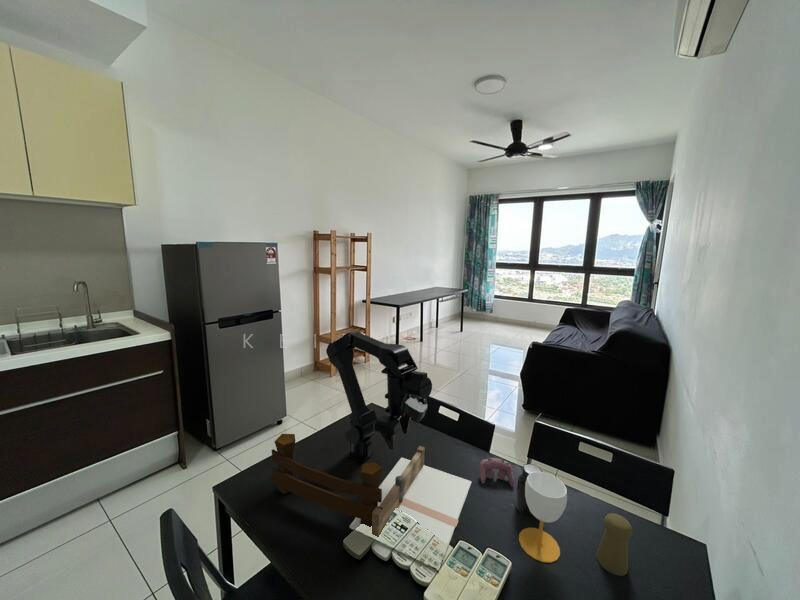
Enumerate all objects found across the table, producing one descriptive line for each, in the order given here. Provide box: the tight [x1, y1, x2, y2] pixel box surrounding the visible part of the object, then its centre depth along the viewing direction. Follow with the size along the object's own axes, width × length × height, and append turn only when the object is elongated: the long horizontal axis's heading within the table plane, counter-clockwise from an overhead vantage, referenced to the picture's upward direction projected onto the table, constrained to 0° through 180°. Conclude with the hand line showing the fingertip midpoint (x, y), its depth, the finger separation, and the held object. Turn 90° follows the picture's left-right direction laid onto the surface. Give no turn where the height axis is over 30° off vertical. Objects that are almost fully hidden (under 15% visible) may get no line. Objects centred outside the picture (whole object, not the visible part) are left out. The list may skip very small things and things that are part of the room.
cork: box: [595, 512, 633, 577], centre depth 71 cm, size 6×6×11 cm
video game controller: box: [479, 457, 515, 487], centre depth 97 cm, size 10×5×7 cm, turn 84°
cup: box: [518, 471, 568, 564], centre depth 75 cm, size 9×9×16 cm
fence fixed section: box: [372, 476, 404, 537], centre depth 81 cm, size 2×14×6 cm, turn 155°
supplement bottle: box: [515, 463, 544, 520], centre depth 85 cm, size 7×7×12 cm
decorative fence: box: [271, 433, 384, 527], centre depth 84 cm, size 34×6×15 cm, turn 67°
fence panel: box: [400, 445, 426, 496], centre depth 94 cm, size 15×2×6 cm, turn 154°
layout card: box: [349, 457, 472, 546], centre depth 87 cm, size 23×30×1 cm
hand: (398, 441), depth 94 cm, fingers open, 9 cm apart
